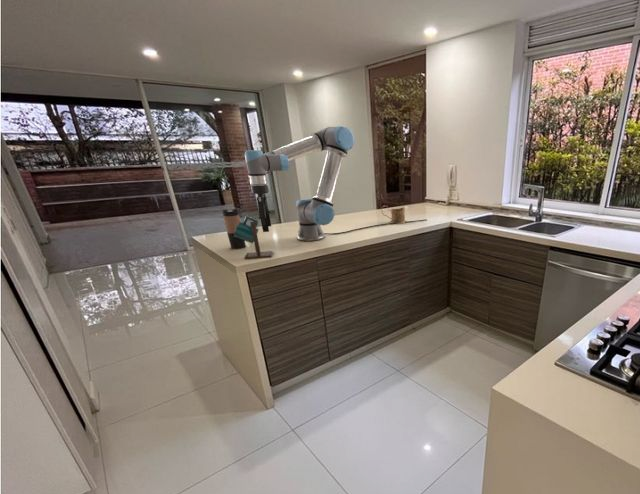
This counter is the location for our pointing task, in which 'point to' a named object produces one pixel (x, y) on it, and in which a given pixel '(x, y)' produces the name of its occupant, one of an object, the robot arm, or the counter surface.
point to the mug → (397, 215)
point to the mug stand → (257, 246)
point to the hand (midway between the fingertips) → (267, 229)
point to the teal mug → (245, 230)
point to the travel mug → (233, 228)
